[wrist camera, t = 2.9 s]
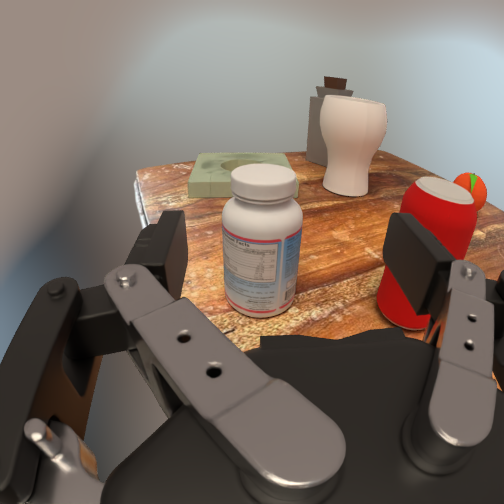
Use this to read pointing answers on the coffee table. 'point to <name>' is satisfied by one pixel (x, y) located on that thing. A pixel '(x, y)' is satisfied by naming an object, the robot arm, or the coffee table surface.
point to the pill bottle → (261, 240)
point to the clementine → (473, 188)
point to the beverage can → (442, 226)
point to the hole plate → (226, 172)
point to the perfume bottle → (315, 139)
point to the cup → (351, 141)
